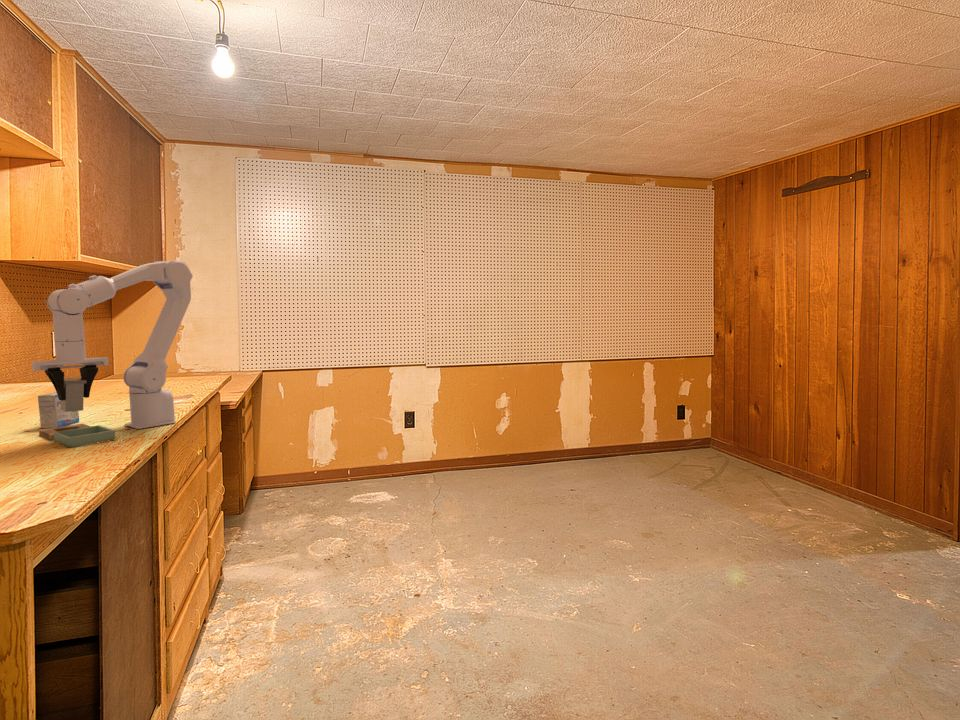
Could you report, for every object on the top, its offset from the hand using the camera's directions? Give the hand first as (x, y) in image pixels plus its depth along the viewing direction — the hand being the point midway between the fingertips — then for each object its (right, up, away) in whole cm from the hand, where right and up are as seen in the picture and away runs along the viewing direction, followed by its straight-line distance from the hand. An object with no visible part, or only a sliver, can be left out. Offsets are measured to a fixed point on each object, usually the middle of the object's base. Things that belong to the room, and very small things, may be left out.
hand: (74, 398), depth 130 cm
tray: (+4, -10, -2) cm, 11 cm away
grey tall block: (-1, -3, 0) cm, 3 cm away
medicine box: (-14, -8, +14) cm, 22 cm away
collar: (-5, -9, +5) cm, 11 cm away
